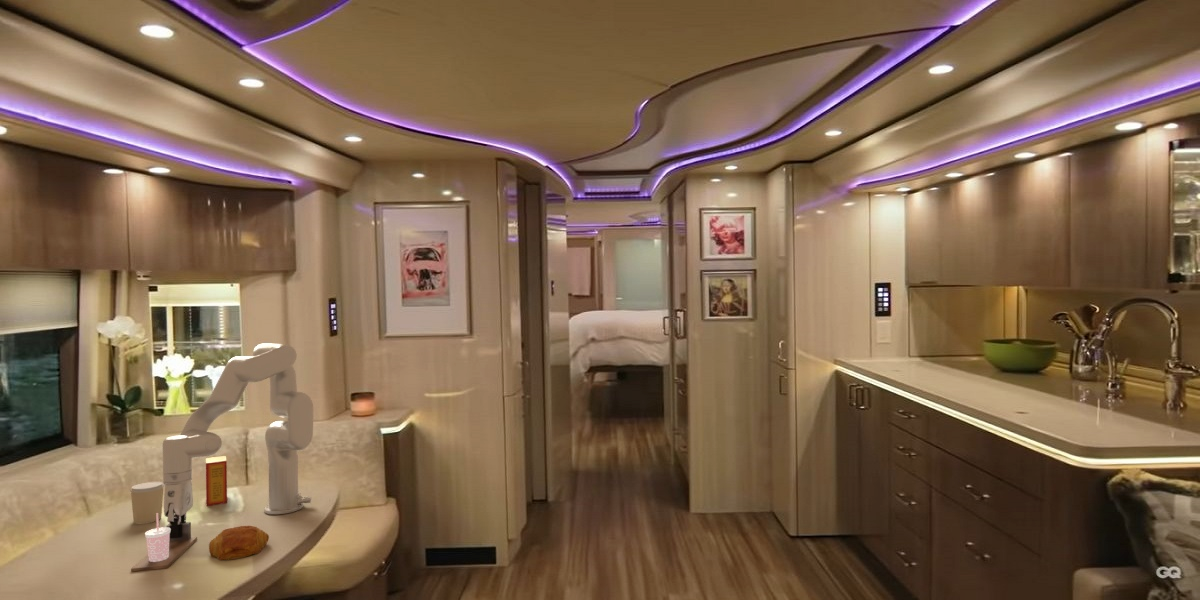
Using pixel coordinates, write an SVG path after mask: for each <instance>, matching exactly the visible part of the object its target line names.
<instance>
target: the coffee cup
mask: <svg viewBox="0 0 1200 600" xmlns="http://www.w3.org/2000/svg"><path fill="white" fill-rule="evenodd" d="M164 488H165V484H163V481H148V482H142V483H138V484H135V485H133V486H131V488H130V495H131V497H130V498H131V507H132V509H131V510H132V517H133V523H134V524H135V523H137V524H136V525H144V524H143V523H146V524H151V523H153V522H154V521H155V522H157V521H156V514H157V513H158V520H159V519H160V520H161V519H162V512H163V501H164V498H163V496H164ZM160 520H159V521H160ZM150 522H151V523H150ZM155 522H154V523H155Z"/></svg>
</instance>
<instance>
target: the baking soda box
mask: <svg viewBox="0 0 1200 600" xmlns="http://www.w3.org/2000/svg"><path fill="white" fill-rule="evenodd" d="M227 463H228V462H227V456H226V455H221V456H212V457H210V456H209V457H205V490H206V491H205V496H206V500H205V501H206V504H205V505H206V507H209V506H216V505H223V504H227V503H228V485H227V484H228V472H227V470H228V468H227V467H228V466H227Z"/></svg>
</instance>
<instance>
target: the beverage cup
mask: <svg viewBox="0 0 1200 600" xmlns="http://www.w3.org/2000/svg"><path fill="white" fill-rule="evenodd" d="M159 521H160V520H158V513H157V514H156V521H155V522H156V528H152V529H150V530H147V531H145V533H144V535H145V536H144V537H145V538H146V546H147V554H148V556H149V561H150V562H157V561H162V560H165V559H167V558H168V557H169V536H170V532H171V531H170V530H171V528H170V527H166V526H161V527H160V525H159Z"/></svg>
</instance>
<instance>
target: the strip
mask: <svg viewBox="0 0 1200 600" xmlns="http://www.w3.org/2000/svg"><path fill="white" fill-rule="evenodd" d="M181 524H182V537H181V538H170V536H169V557H168V558H167V559H165V560H162V561H157V562H150V561H149V556H148V553H147V554H146V555H145V556H144V557H143V558H142V559H140V560H138V562H137V563H136V564H134V566H132V567H131V568H130V572H140V571H150V570H160V569H161V570H162V569H168V568H169V567H170V566H171V565H173V564H174V562H175V561H176V560H177V559H179V558H180V557H181V556H182V555H183V554H184V553H185V552H186V551H187V550H188V549H189V548H190V547H191V546H192V545H193V544H194V543H195V542H196V541H197V540H198V537H197V536H192V522H191V521H188V522H187V521H186V523H181ZM165 527H170V525H169V523H168V524H166V526H165ZM194 541H195V542H194Z"/></svg>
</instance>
